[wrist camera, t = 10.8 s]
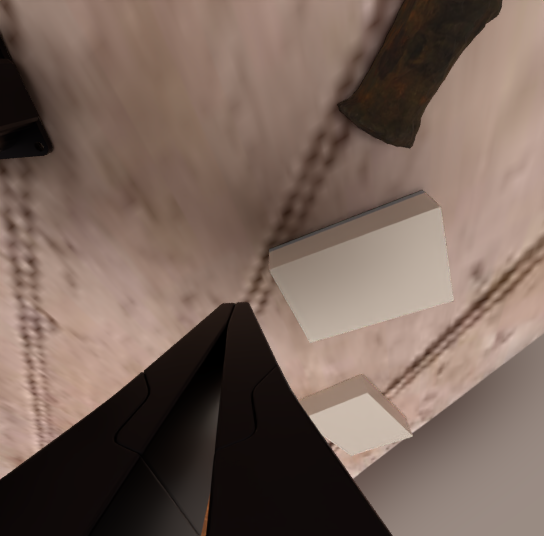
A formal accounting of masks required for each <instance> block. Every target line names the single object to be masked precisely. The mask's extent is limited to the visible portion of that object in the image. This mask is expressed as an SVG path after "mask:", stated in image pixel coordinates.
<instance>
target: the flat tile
mask: <svg viewBox="0 0 544 536" xmlns="http://www.w3.org/2000/svg"><path fill="white" fill-rule="evenodd" d="M269 271H270V273H271V275H272V276H273V278H274V280H275V282H276V284H277V285H278V287H279V289H280V291H281V292H282V294H283V296H284V298H285V299H286V301H287V303H288V305H289V306H290V308H291V310H292V312H293V314H294V315H295V317H296V319H297V321H298V322H299V324H300V326H301V328H302V329H303V331H304V333H305V335H306V336H307V338H308V340H309V342H310V343H312V342H315V341H319V340H322V339H326V338H329V337H332V336H336V335H339V334H343V333H346V332H349V331H353V330H356V329H360V328H363V327H366V326H370V325H373V324H377V323H380V322H383V321H387V320H390V319H394V318H397V317H401V316H404V315H407V314H411V313H414V312H418V311H421V310H424V309H428V308H431V307H435V306H438V305H441V304H445V303H448V302H452V301H454V299H453V292H452V284H451V277H450V270H449V262H448V255H447V248H446V240H445V233H444V226H443V218H442V211H441V206H440V205H439V204H438V203H436V202H435V201H434V200H433V199H432V198H431V197H430V196H429V195H428V194H426V193H425V192H424V191H423V190H421V191H419V192H416V193H414V194H411V195H408V196H406V197H403V198H401V199H398V200H396V201H393V202H390V203H388V204H385V205H383V206H380V207H377V208H375V209H372V210H370V211H367V212H365V213H362V214H359V215H357V216H354V217H352V218H349V219H346V220H344V221H341V222H339V223H336V224H334V225H331V226H328V227H326V228H323V229H321V230H318V231H315V232H313V233H310V234H308V235H305V236H303V237H300V238H297V239H295V240H292V241H290V242H287V243H284V244H282V245H279V246H277V247H274V248H271V249H269Z"/></svg>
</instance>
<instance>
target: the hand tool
mask: <svg viewBox="0 0 544 536" xmlns="http://www.w3.org/2000/svg"><path fill="white" fill-rule="evenodd" d="M501 7H502V0H405V2H404V4H403V5H402V7H401V9H400V10H399V12H398V15H397V17H396V20H395V23H394V25H393V26H392V28H391V30H390V31H389V33H388V35H387V37H386V39H385V42H384V45H383V47H382V48H381V50H380V52H379V53H378V55H377V57H376V59H375V61H374V63H373V65H372V67H371V69H370V70H369V72H368V73H367V75H366V77H365V78H364V80H363V82H362V83H361V85H360V87H359V89H358V90H357V91H356V92H355V93H354V94H353V95H352V96H351V97H350V98H349V99H347V100H345V101H343V102H341V103H339V104H338V107H339V110H340V111H341V112H343V113H344V114H345V116H346V117H347V118H349V119H350V120H351V121H352V122H353V123H354V124H355V125H356V126H357V127H359V128H360V129H362V130H363V131H365V132H367V133H368V134H370V135H372V136H373V137H375V138H377V139H380V140H382V141H384V142H385V143H387V144H391V145H394V146H397V147H405V148H409V149H410V148H411V147H412V146H413V143H414V140H415V136H416V134H417V132H418V129H419V127H420V123H421V117H422V115H423V113H424V110H425V108H426V106H427V105H428V103H429V102H430V100H431V99H432V97H433V96H434V94H435V93H436V92H437V90H438V88H439V87H440V85H441V84H442V82H443V81H444V80H445V78H446V76H447V75H448V73H449V71H450V70H451V68H452V67H453V65H454V64H455V62H456V61H457V59H458V58H459V56H460V55H461V53H462V52H463V51H464V50H465V48H466V47H467V46H468V45H469V44H470V43H471V42H472V40H473V39H474V38H475V37H476V36H477V35H478V34H479V33H480V32H481V31H482V30H483V28H484V27H485V25H486V23H488V22H490V21H491V20H493V19H494V18H495V17H497V16H498V15H499V12H500V10H501Z"/></svg>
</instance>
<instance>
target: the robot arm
mask: <svg viewBox="0 0 544 536" xmlns="http://www.w3.org/2000/svg"><path fill="white" fill-rule="evenodd" d="M39 143H41V144H42V145H43V146H44V149H42V148H41V147H40V146H39ZM52 149H53V147H52V144H51V142H50V140H49V138H48V136H47V134H46V131H45V129H44V127H43V125H42V123H41V121H40V119H39V117H38V113H37V111H36V109H35V107H34V105H33V103H32V100H31V98H30V96H29V94H28V92H27V90H26V88H25V86H24V84H23V82H22V79H21V77H20V75H19V73H18V71H17V69H16V67H15V65H14V64H13V62H12V60H11V58H10V56H9V54H8V52H7V50H6V48H5V46H4V43H3V41H2V39H1V37H0V159H9V158H21V157H33V156H44V155H47V154H49V153H51V152H52ZM209 496H210V499H209ZM208 501H209V509H208V519H207V529H206V536H392V534H391V533H390V531H389V530H388V528H387V527H386V525H385V524H384V523H383V521H382V520H381V519H380V517H379V516H378V514H377V513H376V511H375V510H374V508H373V507H372V506H371V504H370V503H369V501H368V500H367V498H366V497H365V496H364V494H363V493H362V491H361V490H360V488H359V487H358V486H357V484H356V483H355V481H354V480H353V478H352V477H351V476H350V474H349V473H348V471H347V470H346V468H345V467H344V466H343V464H342V463H341V461H340V460H339V458H338V457H337V456H336V454H335V453H334V451H333V450H332V448H331V447H330V446H329V444H328V443H327V441H326V440H325V438H324V437H323V436H322V434H321V433H320V431H319V430H318V428H317V427H316V426H315V424H314V423H313V421H312V420H311V418H310V417H309V416H308V414H307V413H306V411H305V410H304V408H303V407H302V405H301V404H300V402H299V401H298V399H297V398H296V396H295V395H294V393H293V391H292V390H291V388H290V386H289V384H288V382H287V380H286V379H285V377H284V375H283V373H282V371H281V368H280V367H279V365H278V363H277V361H276V359H275V357H274V355H273V352H272V350H271V348H270V346H269V344H268V342H267V340H266V338H265V336H264V334H263V331H262V329H261V327H260V325H259V323H258V321H257V319H256V317H255V315H254V313H253V310H252V308H251V306H250V304H249V303H248V302H238V303H236V304H235V303H223V304H221V305H220V306H219V307H218V308H217V309H215V310H214V311H213V312H212V313H211V314H210V315H208V316H207V317H206V318H205V319H204V320H203V321H201V322H200V323H199V324H198V325H197V326H196V327H194V328H193V329H192V330H191V331H190V332H189V333H187V334H186V335H185V336H184V337H183V338H181V339H180V340H179V341H178V342H177V343H176V344H174V345H173V346H172V347H171V348H170V349H169V350H167V351H166V352H165V353H164V354H163V355H162V356H160V357H159V358H158V359H157V360H156V361H155V362H153V363H152V364H151V365H150V366H149V367H148V368H146V369H145V370H144V373H143V372H141V373H140V374H139V375H138V376H136V377H135V378H134V379H133V380H132V381H131V382H129V383H128V384H127V385H126V386H124V387H123V388H122V389H121V390H120V391H118V392H117V393H116V394H115V395H113V396H112V397H111V398H110V399H108V400H107V401H106V402H104V403H103V404H102V405H100V406H99V407H98V408H96V409H95V410H94V411H93V412H91V413H90V414H89V415H87V416H86V417H84V418H83V419H82V420H80V421H79V422H78V423H76V424H75V425H74V426H72V427H71V428H70V429H68V430H67V431H65V432H64V433H63V434H61V435H60V436H59V437H57V438H56V439H55V440H53V441H52V442H51V443H49V444H48V445H46V446H45V447H44V448H42V449H41V450H40V451H38V452H37V453H36V454H34V455H33V456H32V457H30V458H29V459H27V460H26V461H25V462H23V463H22V464H21V465H19V466H18V467H17V468H15V469H14V470H13V471H11V472H10V473H8V474H7V475H6V476H4V477H3V478H2V479H0V536H201V533H202V529H203V524H204V519H205V515H206V510H207V505H208Z"/></svg>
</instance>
